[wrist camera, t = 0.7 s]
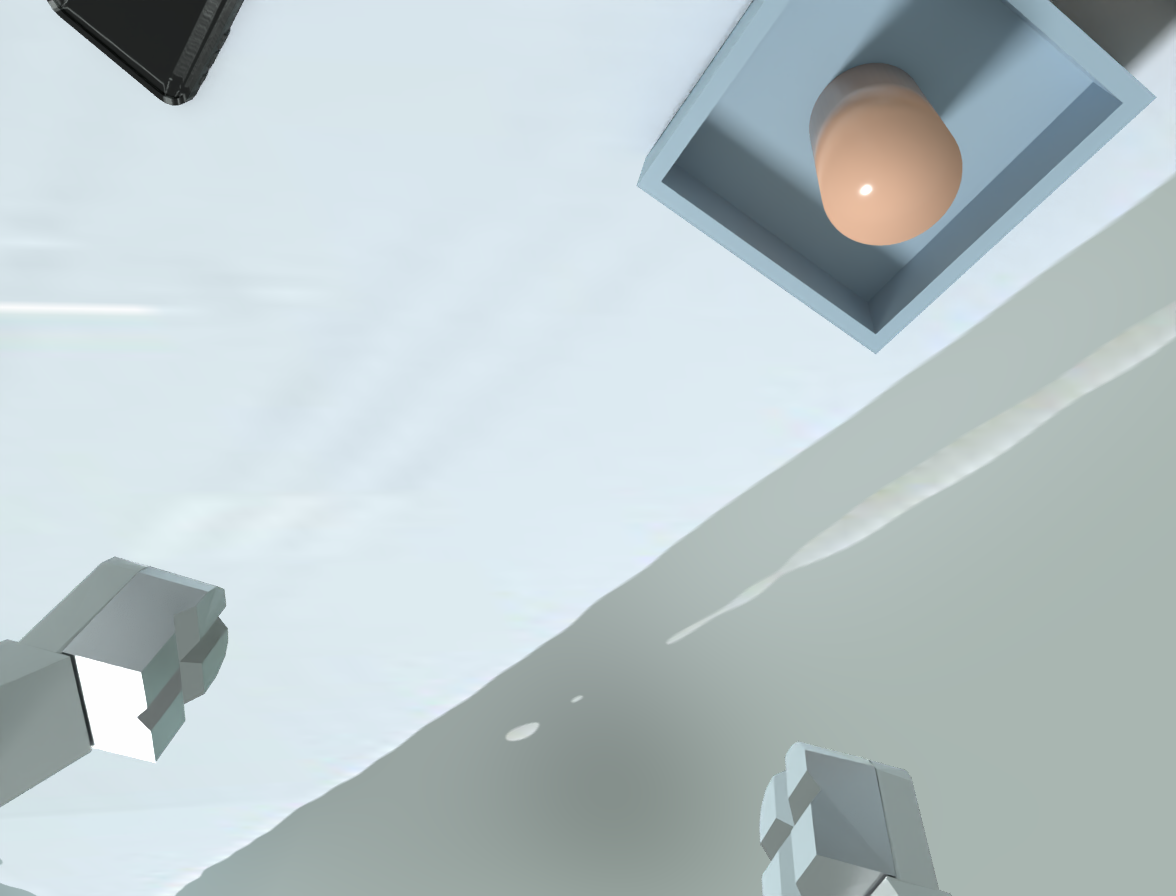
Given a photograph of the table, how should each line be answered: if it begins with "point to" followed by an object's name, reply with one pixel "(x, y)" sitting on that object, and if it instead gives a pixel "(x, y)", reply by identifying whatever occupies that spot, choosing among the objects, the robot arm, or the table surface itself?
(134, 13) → the phone
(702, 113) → the bin
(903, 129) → the orange-tan rounded cylinder
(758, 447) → the table surface
